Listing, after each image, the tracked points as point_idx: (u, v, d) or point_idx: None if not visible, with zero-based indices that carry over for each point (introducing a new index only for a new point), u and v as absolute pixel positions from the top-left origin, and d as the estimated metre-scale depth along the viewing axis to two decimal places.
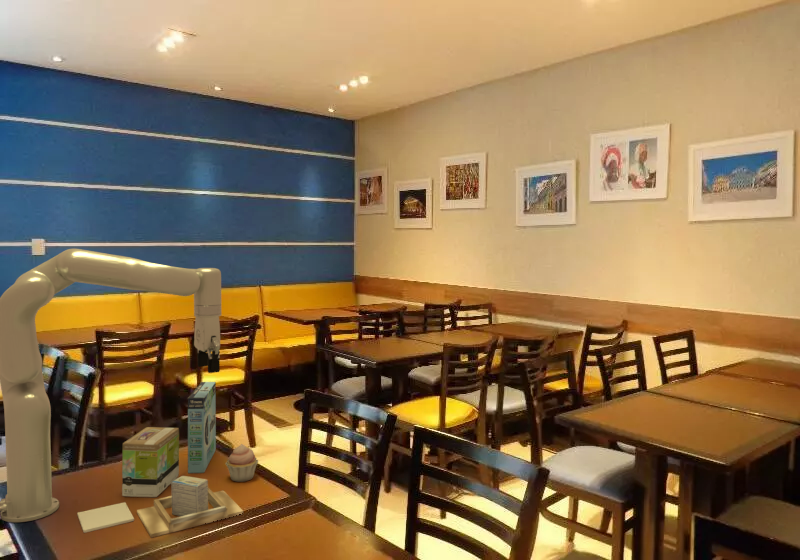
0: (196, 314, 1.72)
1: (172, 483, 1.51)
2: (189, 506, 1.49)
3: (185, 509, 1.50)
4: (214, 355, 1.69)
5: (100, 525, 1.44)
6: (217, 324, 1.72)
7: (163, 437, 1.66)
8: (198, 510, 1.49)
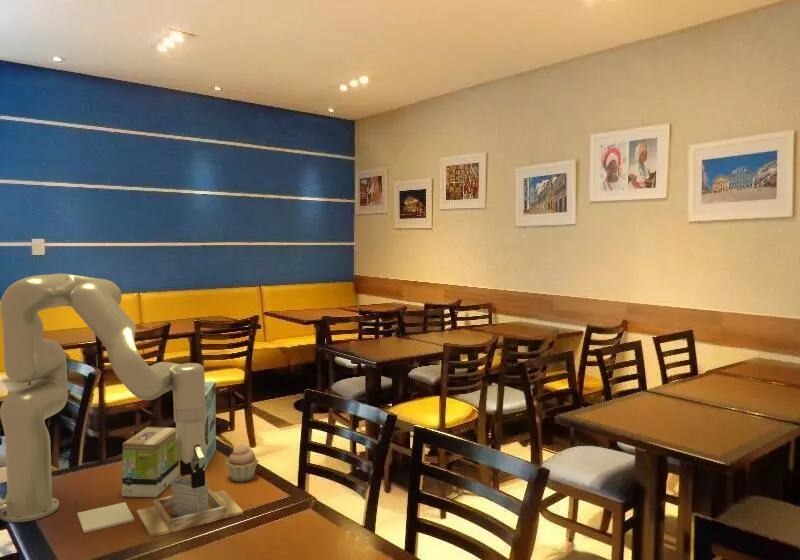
0: (176, 420, 1.48)
1: (172, 483, 1.51)
2: (189, 506, 1.49)
3: (185, 509, 1.50)
4: (198, 468, 1.45)
5: (100, 525, 1.44)
6: (201, 431, 1.48)
7: (163, 437, 1.66)
8: (198, 510, 1.49)
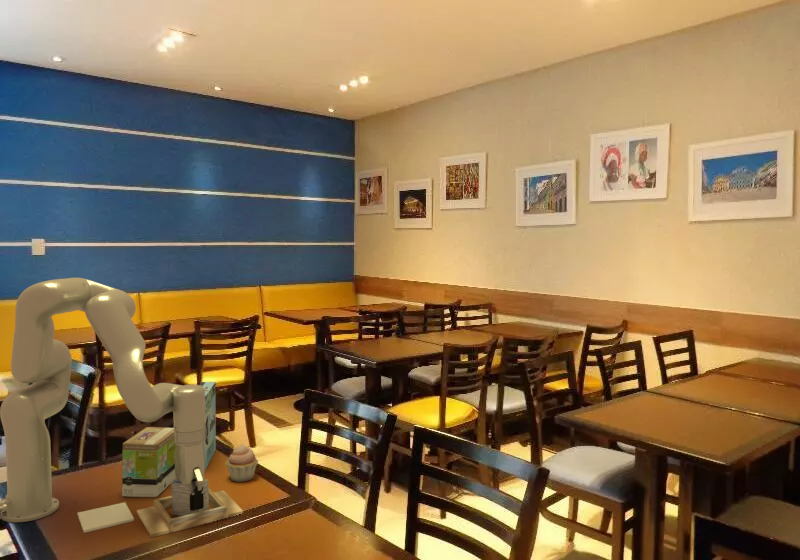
0: (176, 442, 1.48)
1: (172, 483, 1.50)
2: None
3: (186, 509, 1.50)
4: (197, 491, 1.46)
5: (100, 525, 1.44)
6: (200, 453, 1.48)
7: (163, 437, 1.66)
8: (199, 510, 1.49)
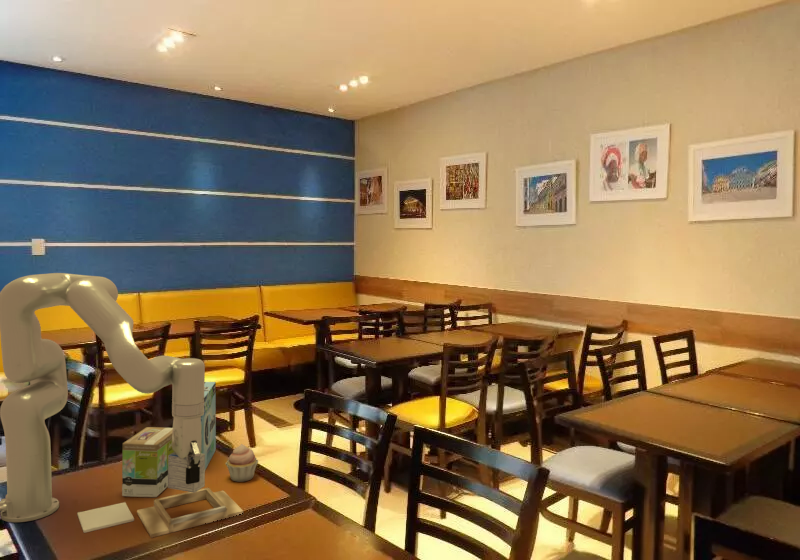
0: (174, 414, 1.47)
1: (169, 456, 1.50)
2: None
3: (181, 482, 1.49)
4: (193, 465, 1.45)
5: (100, 525, 1.44)
6: (198, 426, 1.48)
7: (163, 437, 1.66)
8: (195, 484, 1.49)
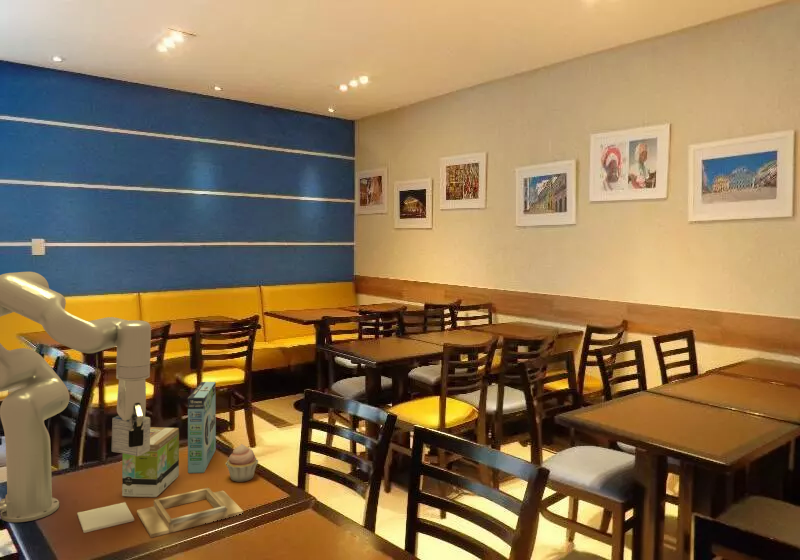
0: (118, 376, 1.45)
1: (113, 419, 1.48)
2: None
3: (125, 446, 1.47)
4: (136, 427, 1.43)
5: (100, 525, 1.44)
6: (142, 389, 1.45)
7: (163, 437, 1.66)
8: (139, 447, 1.46)
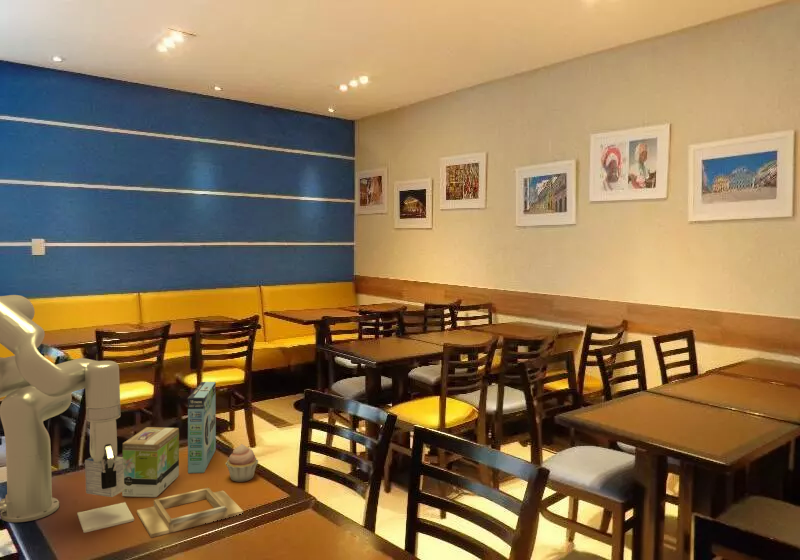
0: (87, 418, 1.45)
1: (86, 461, 1.47)
2: None
3: (99, 487, 1.46)
4: (108, 469, 1.42)
5: (100, 525, 1.44)
6: (113, 430, 1.45)
7: (163, 437, 1.66)
8: (112, 488, 1.46)
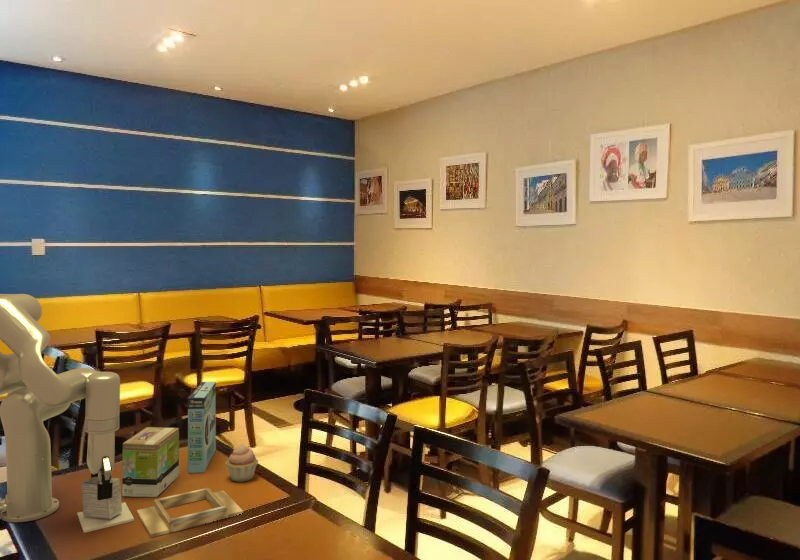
0: (86, 429, 1.45)
1: (82, 484, 1.48)
2: (101, 506, 1.46)
3: (96, 510, 1.47)
4: (104, 481, 1.43)
5: (100, 525, 1.44)
6: (111, 442, 1.45)
7: (163, 437, 1.66)
8: (110, 510, 1.46)
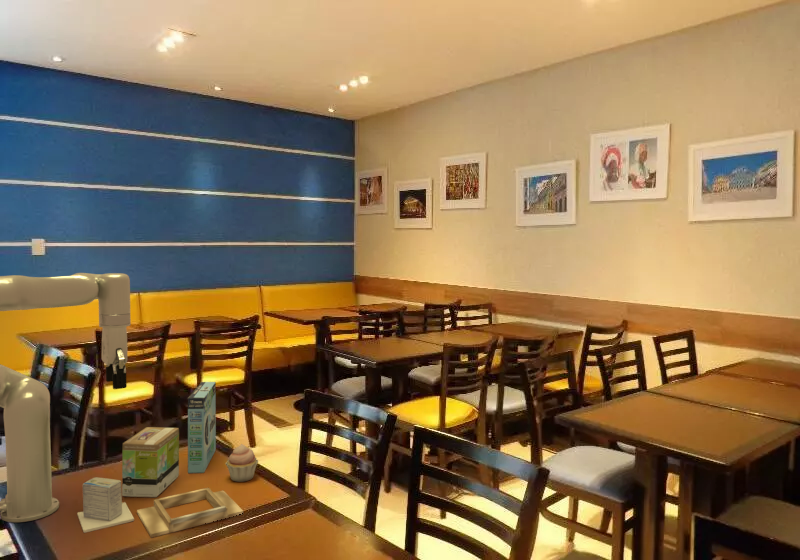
0: (100, 324, 1.56)
1: (83, 485, 1.47)
2: (101, 507, 1.46)
3: (97, 511, 1.47)
4: (119, 370, 1.54)
5: (100, 525, 1.44)
6: (123, 335, 1.56)
7: (163, 437, 1.66)
8: (110, 512, 1.46)
